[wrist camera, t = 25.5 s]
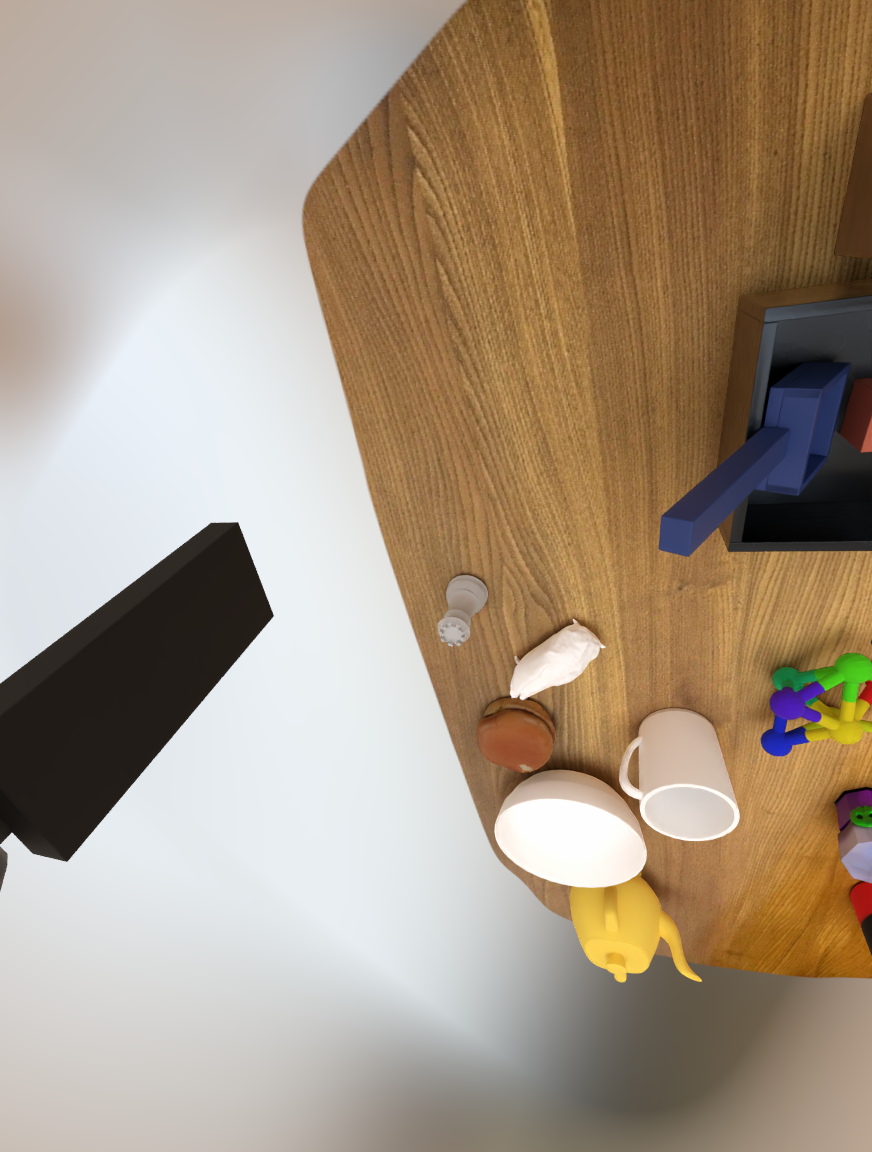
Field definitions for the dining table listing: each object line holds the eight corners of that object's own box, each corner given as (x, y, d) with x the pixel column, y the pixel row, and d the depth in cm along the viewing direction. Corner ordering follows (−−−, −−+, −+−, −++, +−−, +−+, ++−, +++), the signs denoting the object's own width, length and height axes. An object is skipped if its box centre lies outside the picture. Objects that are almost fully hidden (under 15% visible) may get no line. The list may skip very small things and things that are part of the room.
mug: (732, 715, 57) (755, 798, 48) (703, 766, 62) (720, 850, 53) (627, 692, 59) (631, 768, 50) (608, 743, 64) (609, 821, 55)
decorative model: (923, 768, 49) (758, 786, 50) (866, 688, 55) (720, 705, 57) (1010, 697, 40) (805, 720, 41) (929, 609, 46) (753, 632, 47)
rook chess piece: (495, 601, 56) (482, 649, 50) (459, 610, 58) (441, 658, 52) (478, 567, 55) (461, 612, 48) (441, 578, 57) (420, 623, 50)
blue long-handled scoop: (663, 468, 25) (726, 477, 23) (803, 362, 37) (851, 362, 35) (654, 589, 29) (708, 605, 27) (784, 456, 41) (827, 461, 39)
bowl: (652, 761, 63) (657, 815, 57) (633, 846, 73) (637, 900, 67) (501, 738, 68) (492, 786, 62) (503, 822, 78) (495, 870, 72)
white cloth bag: (551, 673, 62) (614, 643, 54) (527, 714, 57) (592, 688, 50) (522, 643, 61) (581, 609, 54) (496, 682, 57) (556, 651, 49)
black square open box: (739, 295, 37) (765, 308, 31) (1044, 254, 32) (1145, 260, 26) (711, 510, 45) (728, 552, 39) (949, 503, 40) (1008, 550, 35)
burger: (518, 683, 62) (512, 713, 58) (573, 728, 64) (571, 760, 60) (464, 717, 68) (456, 746, 64) (516, 757, 69) (511, 788, 66)
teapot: (626, 917, 83) (629, 1006, 74) (550, 874, 82) (544, 960, 72) (691, 889, 75) (704, 986, 65) (608, 842, 74) (609, 933, 64)
